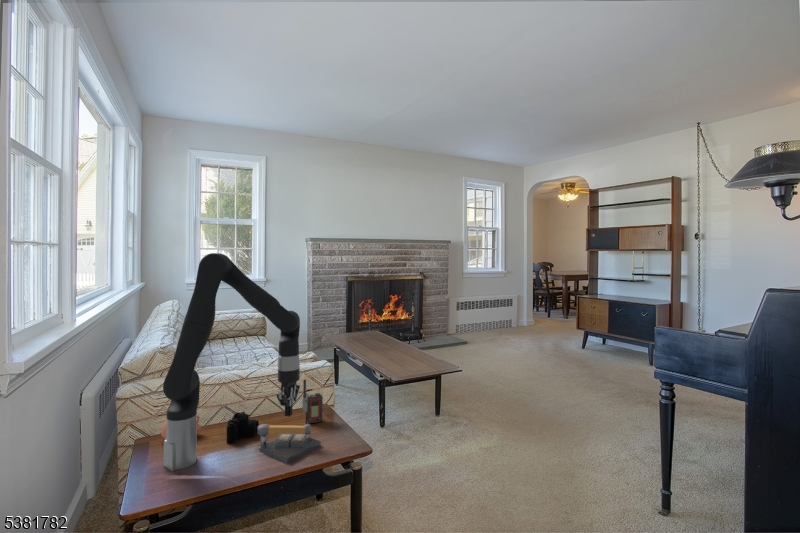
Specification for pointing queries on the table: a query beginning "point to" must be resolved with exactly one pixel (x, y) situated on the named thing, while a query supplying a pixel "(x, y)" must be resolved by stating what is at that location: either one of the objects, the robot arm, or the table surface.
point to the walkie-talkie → (312, 406)
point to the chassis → (290, 447)
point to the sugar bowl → (166, 428)
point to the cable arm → (283, 429)
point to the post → (262, 440)
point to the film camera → (241, 427)
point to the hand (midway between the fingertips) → (288, 415)
